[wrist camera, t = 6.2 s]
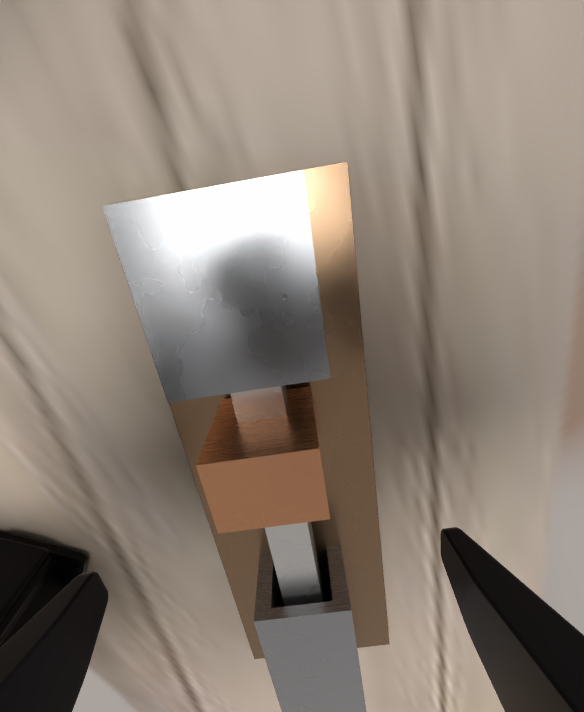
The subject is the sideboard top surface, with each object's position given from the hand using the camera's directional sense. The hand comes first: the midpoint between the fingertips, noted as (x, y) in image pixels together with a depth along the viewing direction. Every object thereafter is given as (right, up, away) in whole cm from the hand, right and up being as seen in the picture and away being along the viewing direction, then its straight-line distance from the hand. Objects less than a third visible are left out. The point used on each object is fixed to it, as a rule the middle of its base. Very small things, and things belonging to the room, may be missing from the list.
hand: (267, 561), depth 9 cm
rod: (0, 0, +7) cm, 7 cm away
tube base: (0, -1, +9) cm, 9 cm away
